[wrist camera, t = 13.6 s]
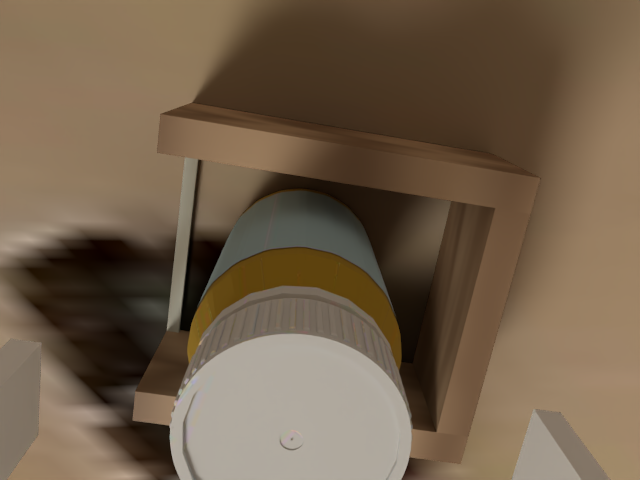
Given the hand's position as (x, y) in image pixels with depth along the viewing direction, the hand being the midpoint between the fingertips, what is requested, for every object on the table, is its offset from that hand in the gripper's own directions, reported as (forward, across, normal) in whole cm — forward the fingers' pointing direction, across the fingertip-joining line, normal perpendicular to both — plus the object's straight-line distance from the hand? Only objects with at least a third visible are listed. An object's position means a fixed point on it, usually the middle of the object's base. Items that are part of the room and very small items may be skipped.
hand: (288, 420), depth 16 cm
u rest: (+14, +1, 0) cm, 14 cm away
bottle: (+14, 0, 0) cm, 14 cm away
